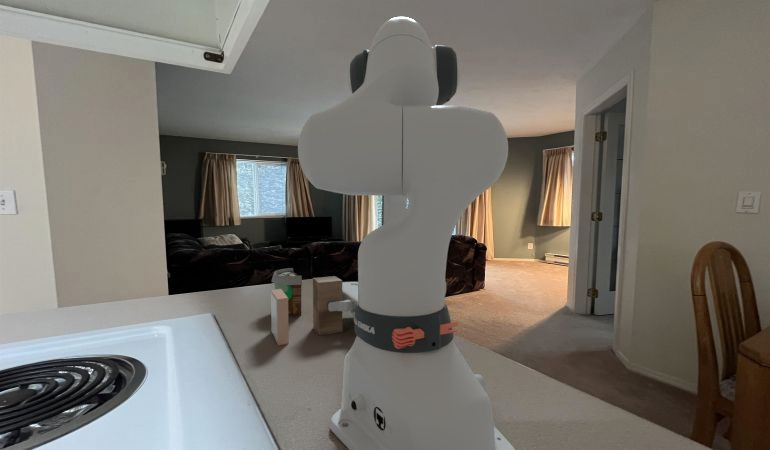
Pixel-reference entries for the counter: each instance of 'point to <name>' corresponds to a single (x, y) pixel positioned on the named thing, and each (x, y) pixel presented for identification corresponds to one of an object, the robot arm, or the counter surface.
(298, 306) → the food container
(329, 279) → the block
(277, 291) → the tile
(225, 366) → the counter surface
